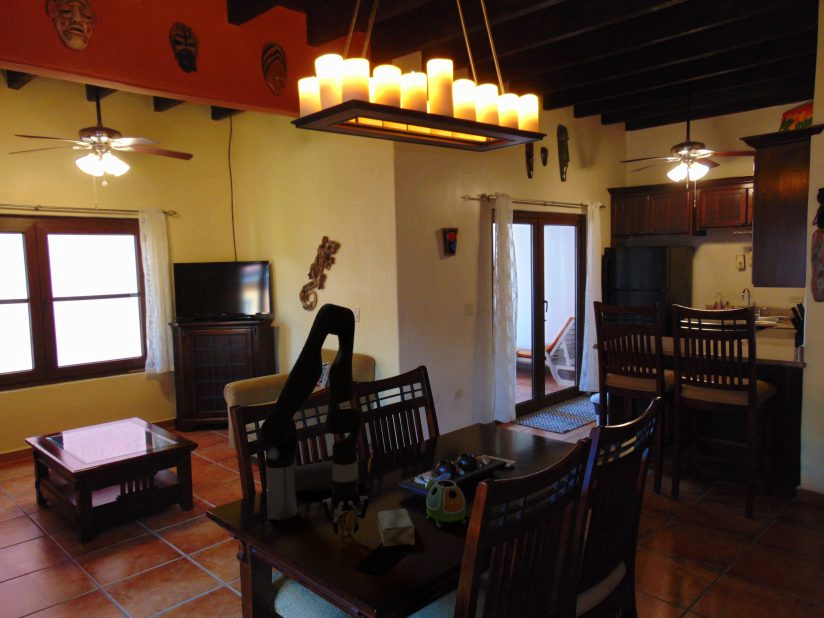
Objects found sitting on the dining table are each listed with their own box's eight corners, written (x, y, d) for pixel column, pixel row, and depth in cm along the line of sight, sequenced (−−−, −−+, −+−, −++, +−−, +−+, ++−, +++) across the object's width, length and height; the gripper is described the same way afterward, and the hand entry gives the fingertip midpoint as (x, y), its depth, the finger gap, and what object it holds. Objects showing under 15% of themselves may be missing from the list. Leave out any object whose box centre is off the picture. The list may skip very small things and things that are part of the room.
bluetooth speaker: (353, 480, 221) (353, 454, 221) (359, 489, 213) (358, 462, 212) (293, 488, 215) (292, 462, 214) (296, 498, 206) (295, 470, 205)
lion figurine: (362, 541, 168) (362, 511, 167) (345, 546, 165) (344, 515, 164) (342, 522, 180) (342, 494, 180) (326, 526, 178) (325, 497, 177)
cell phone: (413, 547, 168) (413, 544, 168) (381, 578, 152) (381, 574, 152) (386, 541, 172) (386, 538, 172) (353, 570, 157) (353, 567, 156)
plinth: (383, 548, 168) (383, 529, 167) (378, 528, 180) (377, 510, 180) (414, 544, 169) (414, 526, 169) (406, 525, 182) (406, 507, 182)
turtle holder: (446, 503, 198) (445, 468, 197) (473, 524, 182) (473, 486, 181) (413, 510, 193) (412, 475, 192) (438, 532, 177) (437, 494, 176)
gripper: (320, 482, 165) (321, 540, 167) (370, 479, 168) (371, 536, 169) (320, 473, 173) (321, 528, 174) (368, 470, 175) (369, 524, 177)
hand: (346, 532), depth 172 cm, fingers closed on lion figurine, 4 cm apart
